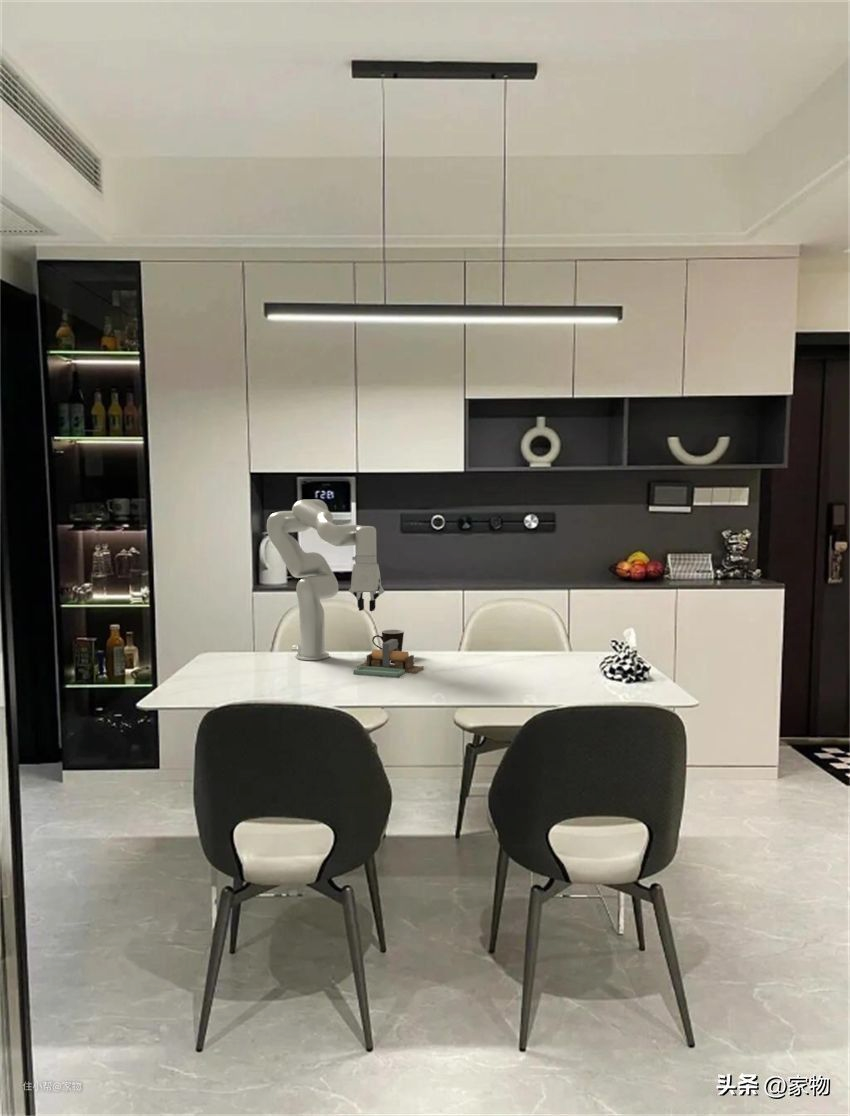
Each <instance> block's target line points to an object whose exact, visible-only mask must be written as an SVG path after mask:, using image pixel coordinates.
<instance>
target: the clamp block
mask: <svg viewBox="0 0 850 1116" xmlns="http://www.w3.org/2000/svg"><path fill="white" fill-rule="evenodd" d="M414 656H415V655H414V654H413V655H412V654H411V655H409V657H407V658H406V659H405V661H396V662H395V664H394V663H390V668H396V669H405V674H414V675H415V674H416V675H417V674H418V673H421V672H422V671H423V670H424V669H425V668H424V666H421V665H415V661H414V660H415V658H414ZM360 666H370V667H383V660H377V659H372V652H371V653H369V654H367V655H366V661H364V662H362V663H360V664H359V665H357V666H356V668H358V667H360Z"/></svg>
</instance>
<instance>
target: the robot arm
mask: <svg viewBox="0 0 850 1116" xmlns="http://www.w3.org/2000/svg"><path fill="white" fill-rule="evenodd" d="M333 522H334V517H333V514H332V512H331V511H330V510H329V508H328V506H327V503H325V501H324V500H321V499H318V498H317V499H300V500H297V501H296V502H295V503H294V504H293V505H292V508H291V510H282V511H277V512H273V513H272V514H270V515H269V516H268V518H267V520H266V533H267V536H268V538H269V540H270V542H271V544H272V545H273V546H274V547H275V549H276V550H277V552H278V553H279V556H280V557H281V559H282V561H283V564H285V566H286V568H287V570H288V572H289V573H290V575H291V576H292V577H294V578H297V579H299V578H300V580H298V582H297V584H296V587H295V588H296V595H297V596H296V597H297V602H298V609H299V645H292V646H291V652H297V654H295V655H296V658H297V660H302V661H319V660H326V659H328V658H329V657H330V653H329V652H327V651H326V637H325V636H326V635H325V633H326V631H325V627H326V626H325V609H324V607H323V605H322V603H321V600H325V599H332V598H334V597H335V596H336V595H337V594H338V592H339V589H340V587H339V582H338V580H337V577H336V575H335V573H334V572H333V570H332V569H331V567H330V565H329V564H328V561H327V560H326V558H325V557H324V556H323V555H322V554H320V553H319V552H315V551H314V552H313V551H312V552H306V551H304V550H303V549H302V547H301V545H300V543H299V542H298V540H296V538H295V537H294V536H292V535H291V534H289V533H298V532H299V533H300V532H302V533H303V532H306V531H308V530H309V529H314V530H316V532H317V535H318V536H319V538H320V539H322V540H323V541H325V542H327V543H328V544H330V545H333V546H335V547H348V546H349V547H350V546H355V554H354V556H352V559H351V560H352V561H354V562H355V563H354V564H353V566H352V570H351V571H352V572H351V581H350V582H351V585H350V587H349V589H348V592H349V593H351V594H352V595H353V596H354V597H355V598H356V600H357V608H358V611H360V612H361V611H364V610H365V599H364V598H363V597H364V593H369V594H370V595H369V596H370V599H369V606H368V607H369V611H370V612H373V611H375V609H376V600H377V599H378V597H379V596H381V595H383V594H384V593H385V590H384V588H383V586H382V581H381V572H380V566H379V563H377V562H378V561H377V560H378V559H377V528H376V527H375V526H371V525H359V524H346V525H345V524H344V525H338V524H335V523H333Z"/></svg>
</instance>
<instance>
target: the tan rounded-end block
mask: <svg viewBox="0 0 850 1116" xmlns="http://www.w3.org/2000/svg"><path fill="white" fill-rule="evenodd" d="M371 653H372V659H377V660H383V657H382V649H372V652H371ZM409 656H410V654H409V652H408V651H403V650H402V651H390V662H391V661H405V659H406V658H407V657H409Z"/></svg>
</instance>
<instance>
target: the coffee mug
mask: <svg viewBox="0 0 850 1116" xmlns="http://www.w3.org/2000/svg"><path fill="white" fill-rule="evenodd" d="M404 634H405V631H404V630H402V629H384V630H382V631H381V635H377V634H376V635H374V636H373V637H372V640H371V641H372V644H373V645H374V646H376V648H379V650H382V646H379V645H377V644H376V643H375V639H376V637H377V638H380V639H381V641H382V643H384V642H386V641H388V640H390V639H397V641H398V651H403V643H404V636H405V635H404Z"/></svg>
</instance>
